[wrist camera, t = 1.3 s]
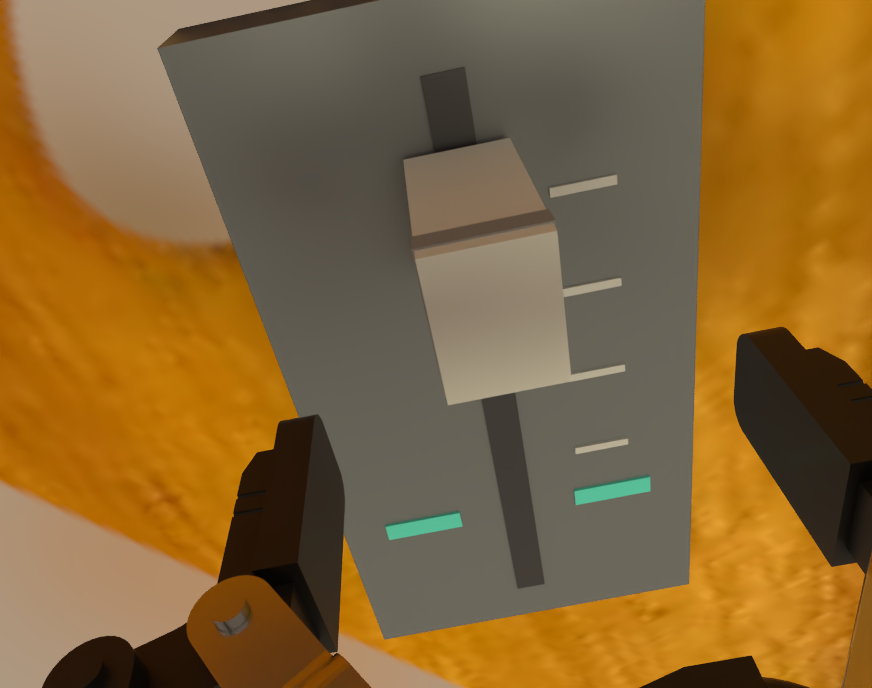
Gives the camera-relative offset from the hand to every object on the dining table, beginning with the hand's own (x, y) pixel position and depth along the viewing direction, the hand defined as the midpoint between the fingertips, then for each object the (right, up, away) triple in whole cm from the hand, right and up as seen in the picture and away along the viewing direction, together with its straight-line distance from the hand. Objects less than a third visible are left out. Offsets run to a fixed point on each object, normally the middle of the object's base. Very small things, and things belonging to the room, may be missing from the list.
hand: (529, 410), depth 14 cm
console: (0, +1, +14) cm, 14 cm away
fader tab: (-1, +5, +7) cm, 9 cm away
